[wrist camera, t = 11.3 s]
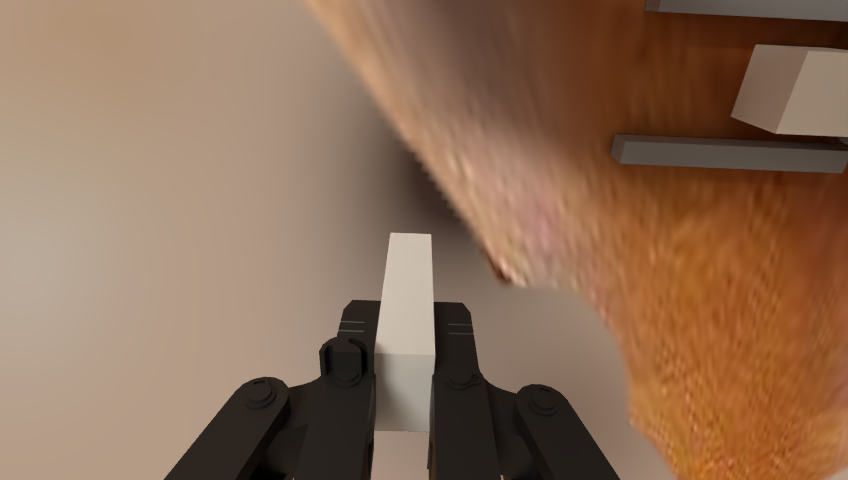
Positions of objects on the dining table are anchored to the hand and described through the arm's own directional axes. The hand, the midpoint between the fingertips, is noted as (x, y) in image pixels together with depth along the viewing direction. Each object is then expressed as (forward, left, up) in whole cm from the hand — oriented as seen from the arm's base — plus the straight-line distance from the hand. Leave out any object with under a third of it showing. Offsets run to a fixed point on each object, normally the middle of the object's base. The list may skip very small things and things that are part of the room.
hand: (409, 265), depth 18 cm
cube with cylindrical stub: (-4, +31, -27) cm, 41 cm away
